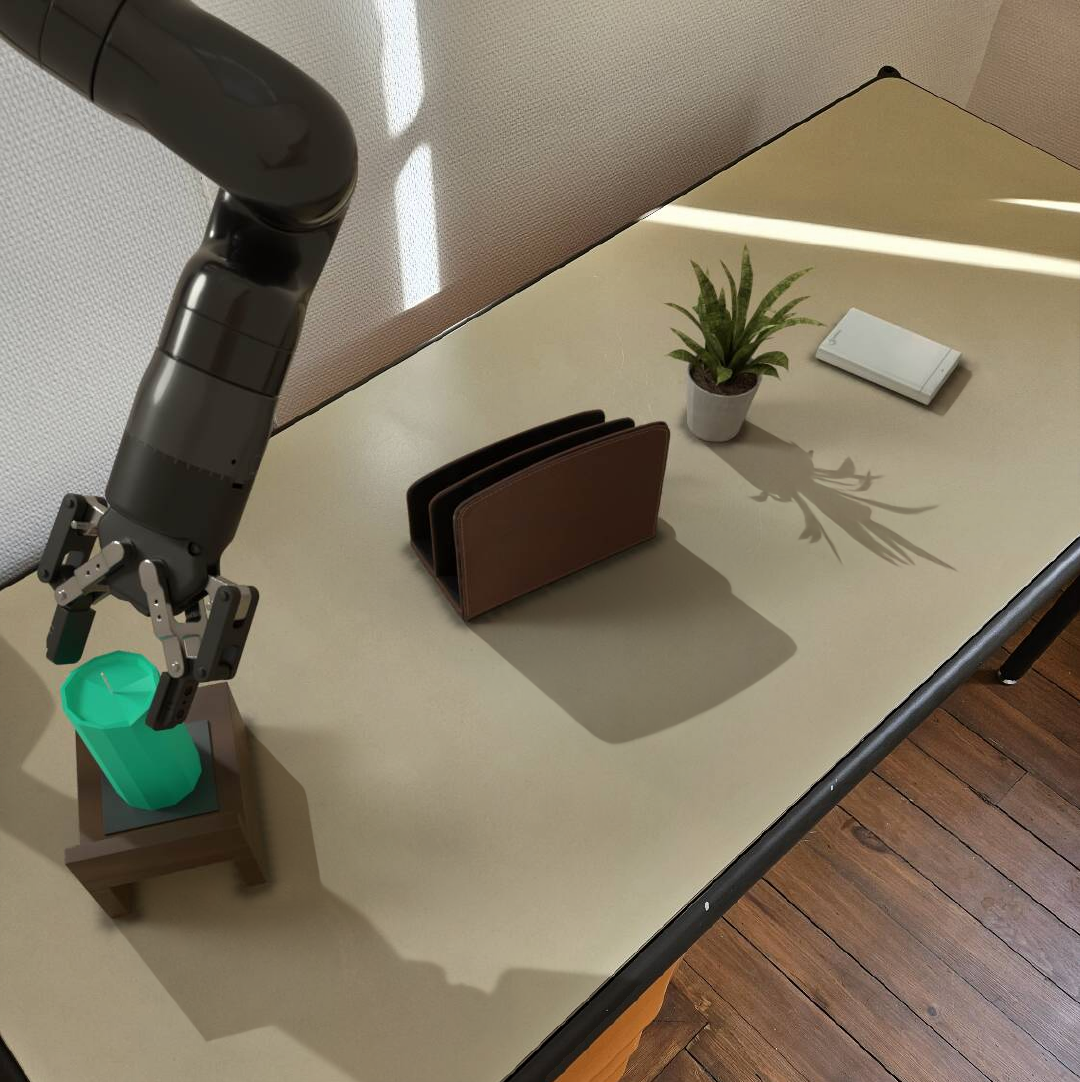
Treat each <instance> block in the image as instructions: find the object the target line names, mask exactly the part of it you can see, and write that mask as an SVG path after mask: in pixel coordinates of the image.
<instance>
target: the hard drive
mask: <svg viewBox="0 0 1080 1082" xmlns="http://www.w3.org/2000/svg"><path fill="white" fill-rule="evenodd" d="M815 353H816V354H815V357H814V358H816V359H819V360H821V361H823V362H825V363H827V364H830V365H833V366H835V367H837V368H839V369H841V370H844V371H846V372H848V373H851V374H853V375H855V376H858V377H860V378H863V379H865V380H868V381H870V382H872V383H874V384H877V385H879V386H882V387H884V388H887V389H888V390H891V391H894V392H895V393H898V394H901V395H902V396H904V397H908V398H909V399H912V400H914V401H916V402H919V403H921V404H924V405H926V406H928V405H929V404H930V403H931V401H932V400H933V399H934V397H936V395H937V393H938V392H939V391H940V390H941V388H942V386H943V385H944V384H945V382H946V381H947V380H948V378H949V377H950V375H951V374H952V373H953V371H955V369H956V368H957V366H958V364H959V363H960V361H961V359H962V356H963V352H961V351H959V350H956V349H954V348H951V347H949V346H948V345H944V344H942V343H939V342H938V341H934V340H933V339H930V338H928V337H925V336H923V335H921V334H918V333H916V332H913V331H911V330H909V329H906V328H904V327H901V326H899V325H897V324H895V323H892V322H889V321H886V320H884V319H882V318H880V317H877V316H875V315H874V314H873V315H872V314H870V313H869V312H866V311H863V310H861V309H858V308H855V307H851V308H850V309H849V310H848V311H847V313H846V314H845V315H844V316H843V318H842V319H840V321H838V323H837V325H836V326H835V327H834V328H833V329H832V330H831V332H829V334H828V335H827V336H826V337H825V339H824V340H823V341H822V342H821V344H820V345H819V346H818V348H817V351H816V352H815Z"/></svg>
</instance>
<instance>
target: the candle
mask: <svg viewBox="0 0 1080 1082" xmlns="http://www.w3.org/2000/svg"><path fill="white" fill-rule="evenodd" d="M160 677H161V673H160V671H159V669H158V667H157V666H156V665H155V664H154V663H153V662H151V660H149V659H148V658H147V657H145V656H144V655H143V654H142V653H137V652H132V651H126V650H120V649H118V650H114V651H111V652H106V653H105V654H100V655H97V656H94V657H91V659H89V660H87V661H85V662H84V663H83V664H81V665H79V666H77V667H76V668H75V669H72V670H71V672H70V673H69V675H68V676H67V678H66V679H65V680H64V682H63V683H62V684H61V686H60V687H59V692H60V700H61V707H62V711H63V713H64V714H65V716H66V717H67V719H68V720H69V722H70V723H71V725H72V726H73V728H74V730H75V729H76V731H77V732H78V734H79V735H80V737H81V738H82V740H83V742H84V743H85V745H86V746H87V748H88V749H89V751H90V752H91V754H92V755H93V757H94V758H95V760H96V761H97V763H98V764H99V766H100V767H101V769H102V771H103V772H104V774H105V775H106V777H107V778H108V780H109V781H110V783H111V784H112V786H113V787H114V789H115V790H116V792H117V793H118V794H119V795H120V796H121V797H122V798H123V799H124V800H125V801H126V802H127V803H128V804H129V805H130V806H132V807H137V808H142V809H147V810H152V811H153V810H156V809H160V808H164V807H168V806H171V805H175V804H177V803H178V802H179V801H180V800H181V799H183V798H184V797H185V796H186V795H188V794H189V793H190V792H191V791H193V790H194V787H195V785H196V783H197V780H198V778H199V776H200V774H201V771H202V770H201V764H200V759H199V753H198V751H197V749H196V747H195V745H194V743H193V741H192V739H191V737H190V735H189V733H188V731H187V728H186V726H185V724H184V722H183V723H182V724H179V725H177V726H176V727H174V728H172V729H167V730H161V731H154V730H153V729H151V728H150V727H148V726H147V725H146V724H145V720H146V717H147V714H148V711H149V708H150V705H151V703H152V700H153V697H154V694H155V691H156V688H157V685H158V683H159V680H160Z"/></svg>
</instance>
